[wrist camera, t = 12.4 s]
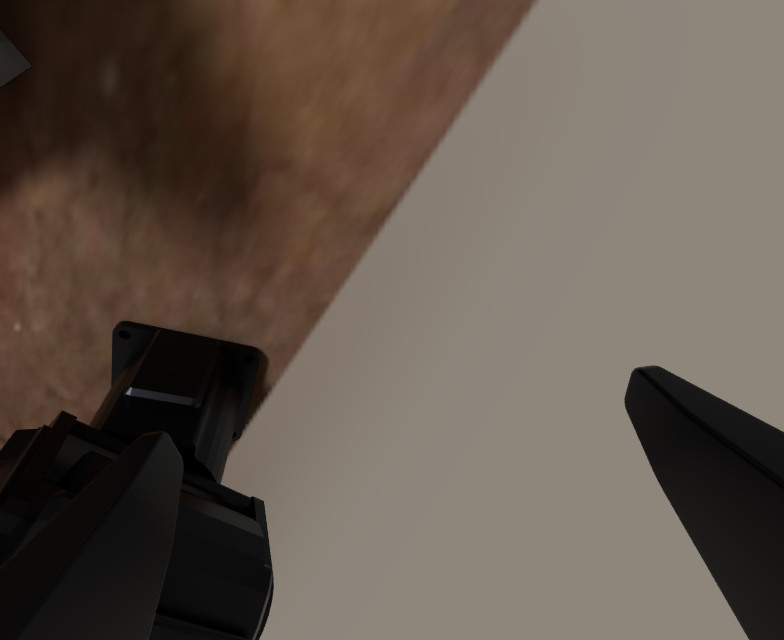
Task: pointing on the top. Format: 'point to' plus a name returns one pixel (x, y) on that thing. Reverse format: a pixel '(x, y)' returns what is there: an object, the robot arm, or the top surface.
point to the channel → (10, 60)
